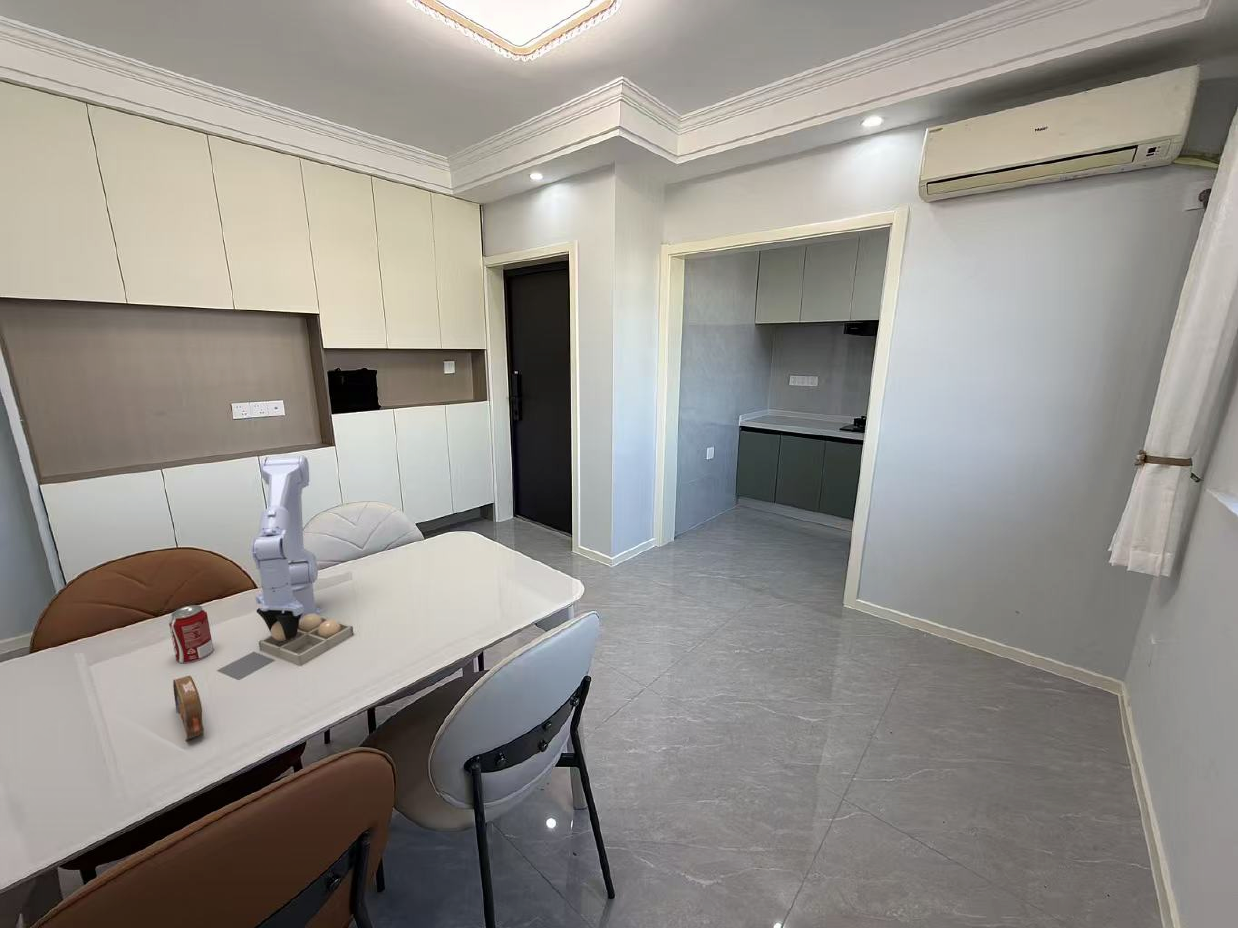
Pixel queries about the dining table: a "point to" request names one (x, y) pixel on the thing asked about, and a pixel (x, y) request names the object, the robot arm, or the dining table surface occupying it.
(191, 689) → the tin
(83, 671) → the dining table surface
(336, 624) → the seated egg
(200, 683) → the dining table surface
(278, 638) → the loose egg
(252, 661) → the slate coaster
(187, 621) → the soda can
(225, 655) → the dining table surface
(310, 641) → the egg tray
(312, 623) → the seated egg
